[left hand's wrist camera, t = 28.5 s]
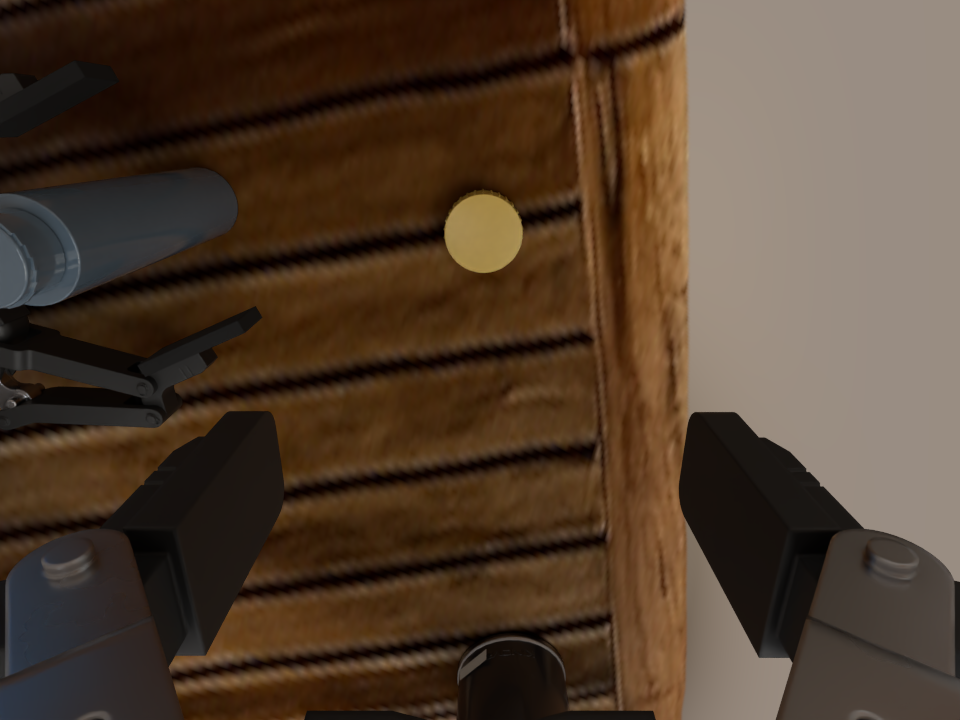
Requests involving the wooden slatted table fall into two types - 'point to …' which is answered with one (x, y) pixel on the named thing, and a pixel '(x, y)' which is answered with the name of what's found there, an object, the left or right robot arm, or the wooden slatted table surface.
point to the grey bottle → (104, 230)
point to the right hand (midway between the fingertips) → (180, 204)
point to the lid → (483, 231)
